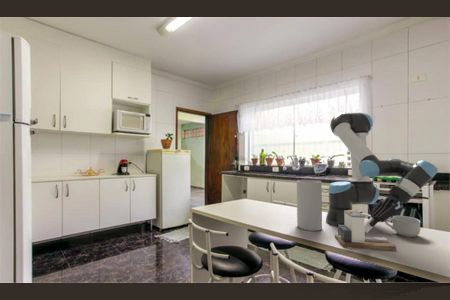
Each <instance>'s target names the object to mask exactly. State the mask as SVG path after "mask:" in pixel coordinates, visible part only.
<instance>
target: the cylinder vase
mask: <svg viewBox="0 0 450 300" xmlns="http://www.w3.org/2000/svg"><path fill="white" fill-rule="evenodd" d="M322 194H323V193H322V181H321V180H315V179H298V180H296V220H297V221H296V222H297V224H296V225H297V227H298V228H299V229H300V230H304V231H311V232H317V231H320V230H322V229H323V211H322V210H323V207H322V206H323V204H322V203H323V202H322V200H323V199H322Z"/></svg>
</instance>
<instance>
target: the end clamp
mask: <svg viewBox="0 0 450 300" xmlns="http://www.w3.org/2000/svg"><path fill="white" fill-rule="evenodd" d="M337 234H338V236H339V235H340V236H341V237H342V240H343V241H344V242H352V234H351V230H350V229H349V228H348V227H347V226H345V225H338V226H337Z"/></svg>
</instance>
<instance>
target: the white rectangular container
mask: <svg viewBox="0 0 450 300" xmlns="http://www.w3.org/2000/svg"><path fill="white" fill-rule="evenodd" d="M365 218H366V215H364V214H362V213H360V212H359V211H357V210H352V211H351V210H348V211H347V210H344V223H345V226H347V227H348V228H349V229H350V230H351V234H352V242H361V243H364V240H365V236H366V235H365V234H366V232H365V223H366V222H365Z"/></svg>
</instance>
